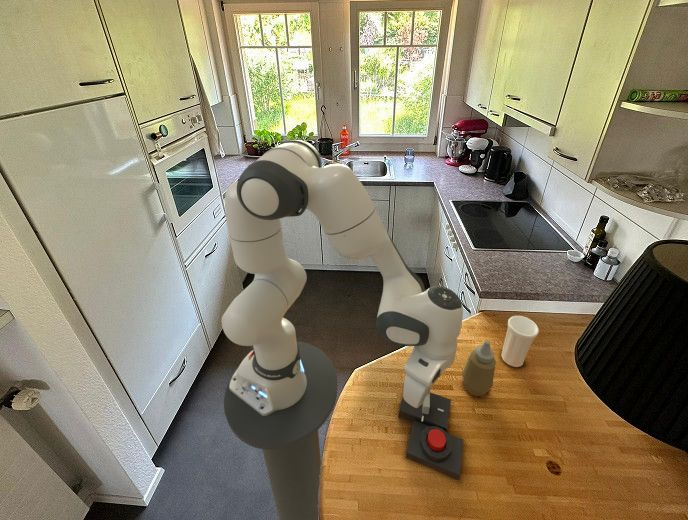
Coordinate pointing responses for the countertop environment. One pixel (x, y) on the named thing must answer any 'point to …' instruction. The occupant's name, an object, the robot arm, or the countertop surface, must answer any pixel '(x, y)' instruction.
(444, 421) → the control panel
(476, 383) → the squeeze bottle
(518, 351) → the cup
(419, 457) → the power base
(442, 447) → the power button
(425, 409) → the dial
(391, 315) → the robot arm
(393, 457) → the countertop surface
